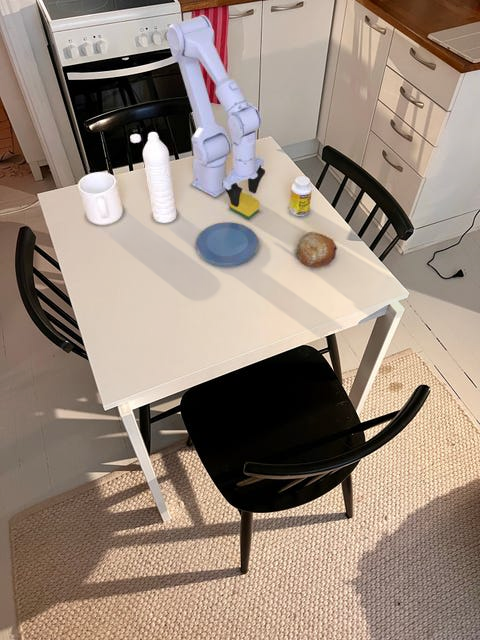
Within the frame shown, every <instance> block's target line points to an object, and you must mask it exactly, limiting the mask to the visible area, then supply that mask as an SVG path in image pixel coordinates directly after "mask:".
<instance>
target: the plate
mask: <svg viewBox="0 0 480 640" xmlns="http://www.w3.org/2000/svg"><path fill="white" fill-rule="evenodd" d="M196 240H197V241H196V249H197V252H198V255H199V256H200V257H201V258H202V260H204V261H206V262H207V263H209V264H211V265H213V266H216V267H222V268H223V267H225V268H229V267H230V268H231V267H236V266H241V265H243V264H245V263H247V262H249V261H250V260H252V258H253V257H254V256H255V255H256V253H257V251H258V245H259V242H258V241H259V240H258V237H257V235H256V234H255V232H254V231H253V230H252V229H251V228H249V227H248V226H246V225H244V224H241V223H237V222H226V221H225V222H219V223H215V224H212V225H210V226H207V227H206V228H204V229H203V230H202V231H201V232H200V233H199V235H198V237H197V239H196Z"/></svg>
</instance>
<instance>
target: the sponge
mask: <svg viewBox="0 0 480 640" xmlns="http://www.w3.org/2000/svg"><path fill="white" fill-rule="evenodd" d="M229 210H230V211H232V212H233V213H235V214H238V215H239V216H241V217H243V218H245V219H247V220H250V219H251V218H253V217H254V216H255V215H257V214H258V213H259V212H260V200H259V199H257V198H256V197H253V196H252V195H250V194H248V193H246V192H244V191H243V190H242V191H241V194H240V199H239V206H238V207H235V206H233V205H232V204H231V201H230V200H229Z"/></svg>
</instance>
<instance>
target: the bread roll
mask: <svg viewBox="0 0 480 640" xmlns="http://www.w3.org/2000/svg"><path fill="white" fill-rule="evenodd" d="M337 250H338V247H337V245H336V243H335V241H334V239H333V238H331V237H329V236H327V235H325V234H322V233H320V232H316V231H309V232H306V233H305V234H304V235H303V236H301V238H300V239H299V240H298V244H297V249H296V250H295V255H297V259H298V260H299V262H300V263H301V264H302V265H303V266H305V267H308V268H313V269H317V268H323V267H325V266H327V265H329V264H330V263H331V262H333V260H334V259H335V257H336V253H337Z"/></svg>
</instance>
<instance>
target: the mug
mask: <svg viewBox="0 0 480 640" xmlns="http://www.w3.org/2000/svg"><path fill="white" fill-rule="evenodd" d="M115 177H116V176H114V175H113V174H111V173H109V172H105V171H97V172H96V171H95V172H91V173H88V174H86V175H84V176H83V177H81V178H80V179H79V181H78V183H77V188H78V192H79V194H80V199H81V201H82V205H83V208H84V212H85V215H86V217H87V220H88V221H89V222H90V223H92V224H94V225H97V226H106V225H107V226H108V225H111V224H113V223H116V222H117V221H118V220H120V218H121V217H122V216H123V214H124V208H123V205H122V200H121V196H120V192H119V188H118V184H117V183H118V182H117V178H115Z"/></svg>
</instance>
